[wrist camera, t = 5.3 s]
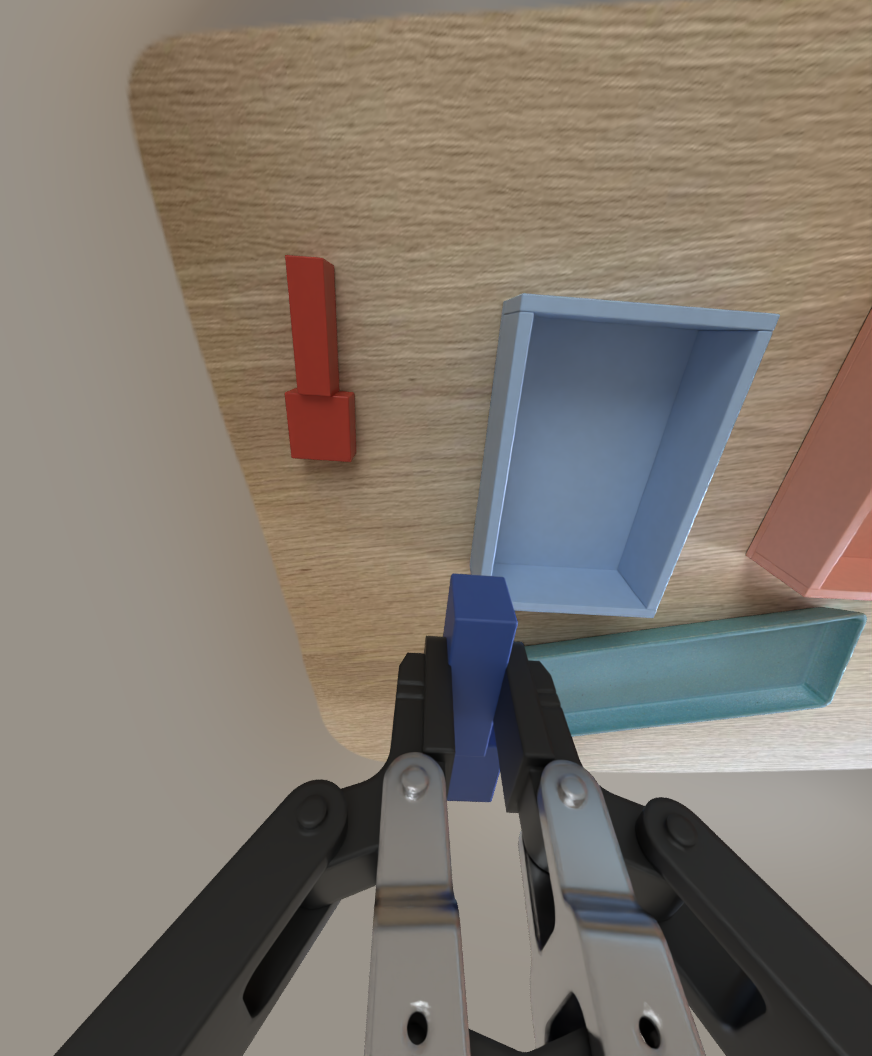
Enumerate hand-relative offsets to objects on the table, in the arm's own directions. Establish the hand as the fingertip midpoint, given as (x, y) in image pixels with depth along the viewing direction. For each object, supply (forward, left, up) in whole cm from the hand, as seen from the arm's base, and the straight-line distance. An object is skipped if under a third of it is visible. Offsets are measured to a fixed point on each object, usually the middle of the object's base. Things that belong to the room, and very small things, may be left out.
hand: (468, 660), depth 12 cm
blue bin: (-3, +7, -13) cm, 15 cm away
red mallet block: (-7, -7, -13) cm, 16 cm away
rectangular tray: (+13, +16, -13) cm, 24 cm away
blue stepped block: (+2, 0, -1) cm, 2 cm away
